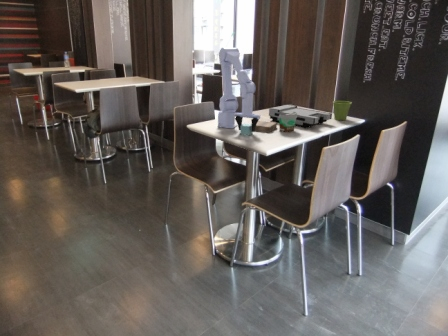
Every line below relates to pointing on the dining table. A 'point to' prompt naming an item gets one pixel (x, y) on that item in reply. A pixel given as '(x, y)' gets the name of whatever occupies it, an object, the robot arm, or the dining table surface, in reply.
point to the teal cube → (246, 129)
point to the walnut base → (265, 126)
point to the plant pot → (341, 109)
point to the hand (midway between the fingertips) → (246, 130)
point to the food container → (287, 122)
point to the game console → (300, 115)
